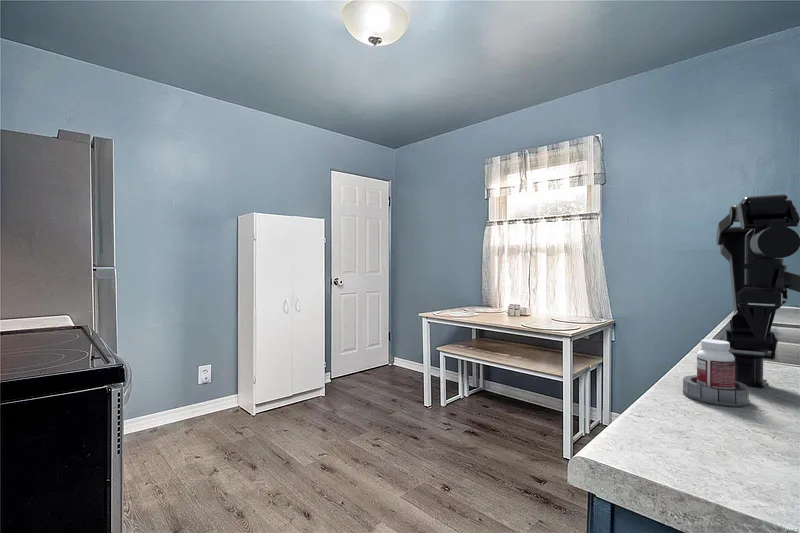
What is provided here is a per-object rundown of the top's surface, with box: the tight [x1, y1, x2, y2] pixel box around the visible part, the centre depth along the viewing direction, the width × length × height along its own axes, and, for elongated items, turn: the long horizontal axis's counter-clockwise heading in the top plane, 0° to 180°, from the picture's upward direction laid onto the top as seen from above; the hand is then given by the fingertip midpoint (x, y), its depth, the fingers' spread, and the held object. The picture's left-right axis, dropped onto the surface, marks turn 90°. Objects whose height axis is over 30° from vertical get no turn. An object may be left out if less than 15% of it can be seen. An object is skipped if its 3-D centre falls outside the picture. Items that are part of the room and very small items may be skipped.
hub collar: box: [682, 374, 751, 408], centre depth 82 cm, size 11×11×3 cm
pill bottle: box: [696, 338, 735, 389], centre depth 82 cm, size 6×6×11 cm
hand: (763, 336), depth 80 cm, fingers open, 9 cm apart
